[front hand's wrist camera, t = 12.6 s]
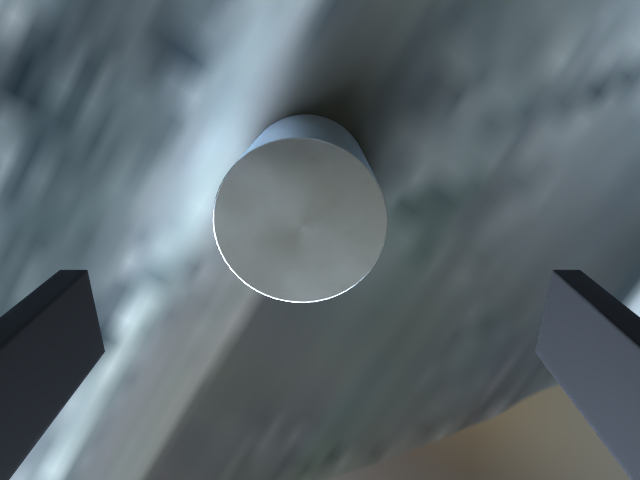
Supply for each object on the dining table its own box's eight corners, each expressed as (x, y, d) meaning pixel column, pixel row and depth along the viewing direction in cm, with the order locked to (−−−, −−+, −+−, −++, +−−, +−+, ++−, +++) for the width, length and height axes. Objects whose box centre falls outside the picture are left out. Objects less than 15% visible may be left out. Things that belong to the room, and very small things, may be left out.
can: (232, 127, 32) (190, 157, 21) (356, 102, 31) (374, 120, 21) (261, 242, 35) (237, 315, 25) (374, 221, 34) (398, 287, 24)
